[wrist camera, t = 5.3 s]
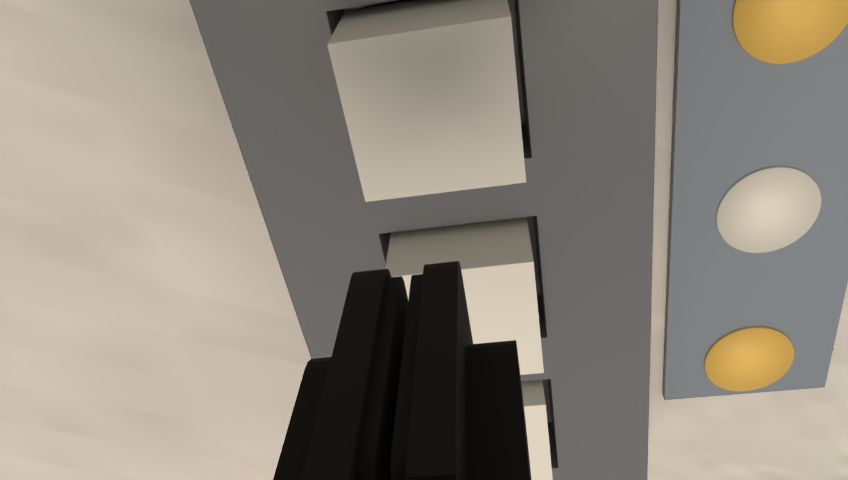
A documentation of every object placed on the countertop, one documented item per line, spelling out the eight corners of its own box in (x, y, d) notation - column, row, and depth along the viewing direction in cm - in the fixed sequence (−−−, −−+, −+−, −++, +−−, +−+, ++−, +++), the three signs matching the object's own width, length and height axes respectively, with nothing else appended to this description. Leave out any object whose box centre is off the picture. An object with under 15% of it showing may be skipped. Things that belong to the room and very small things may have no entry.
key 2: (345, 11, 19) (326, 44, 16) (504, -15, 18) (511, 16, 16) (376, 153, 21) (365, 202, 19) (518, 135, 21) (526, 182, 18)
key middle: (392, 224, 22) (383, 277, 20) (525, 208, 22) (533, 261, 19) (414, 325, 25) (409, 384, 22) (535, 313, 24) (543, 372, 22)
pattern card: (679, -52, 19) (684, -49, 19) (921, -91, 19) (931, -88, 18) (662, 394, 29) (665, 402, 29) (821, 382, 28) (826, 389, 28)
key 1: (426, 357, 27) (423, 414, 25) (537, 347, 27) (545, 404, 24) (443, 431, 29) (441, 490, 27) (545, 424, 29) (553, 483, 26)
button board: (210, -67, 20) (172, -47, 17) (633, -143, 18) (661, -133, 16) (371, 455, 32) (363, 511, 29) (631, 436, 30) (646, 493, 28)
